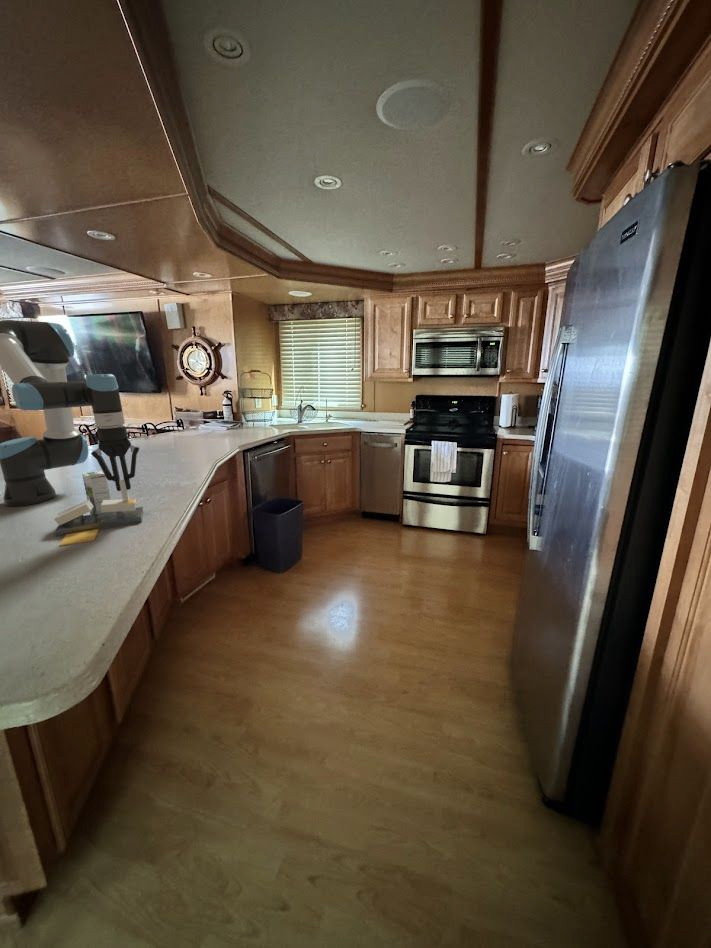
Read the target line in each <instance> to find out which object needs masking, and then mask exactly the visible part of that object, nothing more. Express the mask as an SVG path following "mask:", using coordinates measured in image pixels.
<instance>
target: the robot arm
mask: <svg viewBox="0 0 711 948" xmlns="http://www.w3.org/2000/svg"><path fill="white" fill-rule="evenodd" d="M72 340H73V339H72V338H71V335H70V334H69V332H68V330H67V329H66V327H64V326H63V325H62V324H60V323H56V322H55V323H54V322H49V321H33V320H14V319H4V320H0V367H1V369H2V370H3V371H4V373H5V374H6V375H7V377H8V378H9V379H10V381H11V382H12V383H13V385H12V387H11V392H12V397H13V398H12V399H13V401H14V402H15V405H16V407H17V408H18V409H19V410H21V411H41V410H42V411H43V416H44V421H45V427H46V430H44V432H42V439H37V438H36V437H35V436H26V437H19V438H14V439H9V440H6V441H4V442H1V443H0V469H1V472H2V477H3V479H4V482H5V485H4V486H5V487H4V492H3V502H4V506H6V507H23V506H28V505H29V506H30V505H36V504H39V503H43V502H47V501H50V500H52V499H54V498H56V497H57V493H56V489H55V488H54V487H53V485H52V484H51V482H50V481H49V479H47V477H46V473H45V471H46V470H52V469H59V468H63V467H64V468H65V467H70V466H75V465H79V464H82V463H83V464H84V463H85V462H86V460H87V459H88V456H89V444H88V440H87V438H86V437H85V435H84V434H81V432H80V430H78V429H77V428H75V424H74V418H73V417H74V416H73V409H72V408H81V407H91V409H92V414H93V419H94V423H95V424H94V425H95V426H96V427H97V429H96V433H97V437H98V441H99V442H98V447H97V448H96V449H95V450H94V449H93V450H92V451H91V453H90V455H91V456H92V457H93V458H95V460H96V462H98V465H99V467H100V468H101V471H102V472H104V474H105V476H106V478H107V481H112V482H114V483H115V488H116V491H117V492H120V493H121V496H122V497H121V498H122V499H123V501H128V500H129V499H130V496H129V490H131V488H132V487H131V481H130V480H131V479H132V478H134V477H136V476H135V475H136V466H137V456H138V453H139V451H140V446H137V445H134V444H132V443H131V441H130V439H129V436H128V433H127V427H126V426H125V424H126V422H125V417H124V412H123V408H122V406H123V405H122V401H121V395H120V390H119V384H118V381H117V378H116V376H115V375H114V374H112V373H107V374H106V373H99V374H98V373H97V374H92V373H91V374H87V375H86V376H85V380H81V381H68V378H67V371H66V367H67V366H68V365H69V364H70V360H69V359H70V358H73V357H74V355H75V346H74V343H73V341H72ZM129 450H130V452H131V453H132V454H131V462H130V473H129V469H128V466H127V465H128V464H127V461H126V454H127V453H128V451H129ZM102 452H103V453H104V454H105V455H106V457H107V456H108V457H109V461H110V464H111V470H112V472H111V471H110V468H109V467H108V465H107V462H106V461H105V459H104V457H103V456H102V455H103V453H102ZM117 457H119V458H118V459H119V462H120V467H121V471H122V476H123V478H122V479H120V478H121V477H120V473H119V472H120V471H119V468H118V464H117Z"/></svg>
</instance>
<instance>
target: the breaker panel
mask: <svg viewBox="0 0 711 948" xmlns="http://www.w3.org/2000/svg"><path fill="white" fill-rule="evenodd" d="M143 508H144V507H143V506H139V507H136V509H135V511H117V512H105V513H98V514H92V515H91V514H86V515H85V514H83V515H81V516H79V517H77V518H75V519H72V520H70V521H68V522H66V523H64V524H62V525H60V526H59V525H58V524H57V527H56V528H55V529H54V531H55V535H56V537H63V536H64V537H65V536H66V534H71V533H77V532H83V531H89V530H95V529H99V530H104V529H109V528H110V529H111V528H115V527H116V528H117V527H122V525H123V526H128V524H129V525H134V524H133V523H135V524H139V522H141V523H143V518H144V509H143Z"/></svg>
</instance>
